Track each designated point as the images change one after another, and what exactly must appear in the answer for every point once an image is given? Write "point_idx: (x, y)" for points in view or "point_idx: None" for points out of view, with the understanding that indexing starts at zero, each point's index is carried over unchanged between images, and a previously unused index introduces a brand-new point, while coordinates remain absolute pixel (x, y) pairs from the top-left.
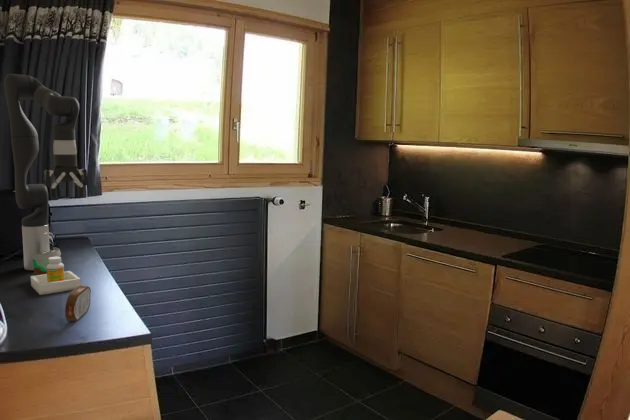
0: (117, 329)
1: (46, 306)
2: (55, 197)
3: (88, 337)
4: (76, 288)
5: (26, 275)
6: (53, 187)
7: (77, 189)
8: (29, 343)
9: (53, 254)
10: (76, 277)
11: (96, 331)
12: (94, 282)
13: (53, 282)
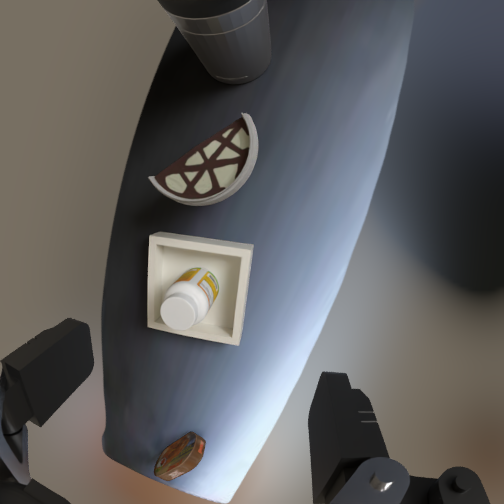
0: (207, 488)
1: (152, 383)
2: (82, 375)
3: (174, 482)
4: (171, 470)
5: (184, 117)
6: (17, 432)
7: (334, 435)
8: (121, 457)
9: (212, 200)
10: (235, 328)
11: (186, 480)
12: (291, 306)
13: (176, 331)
